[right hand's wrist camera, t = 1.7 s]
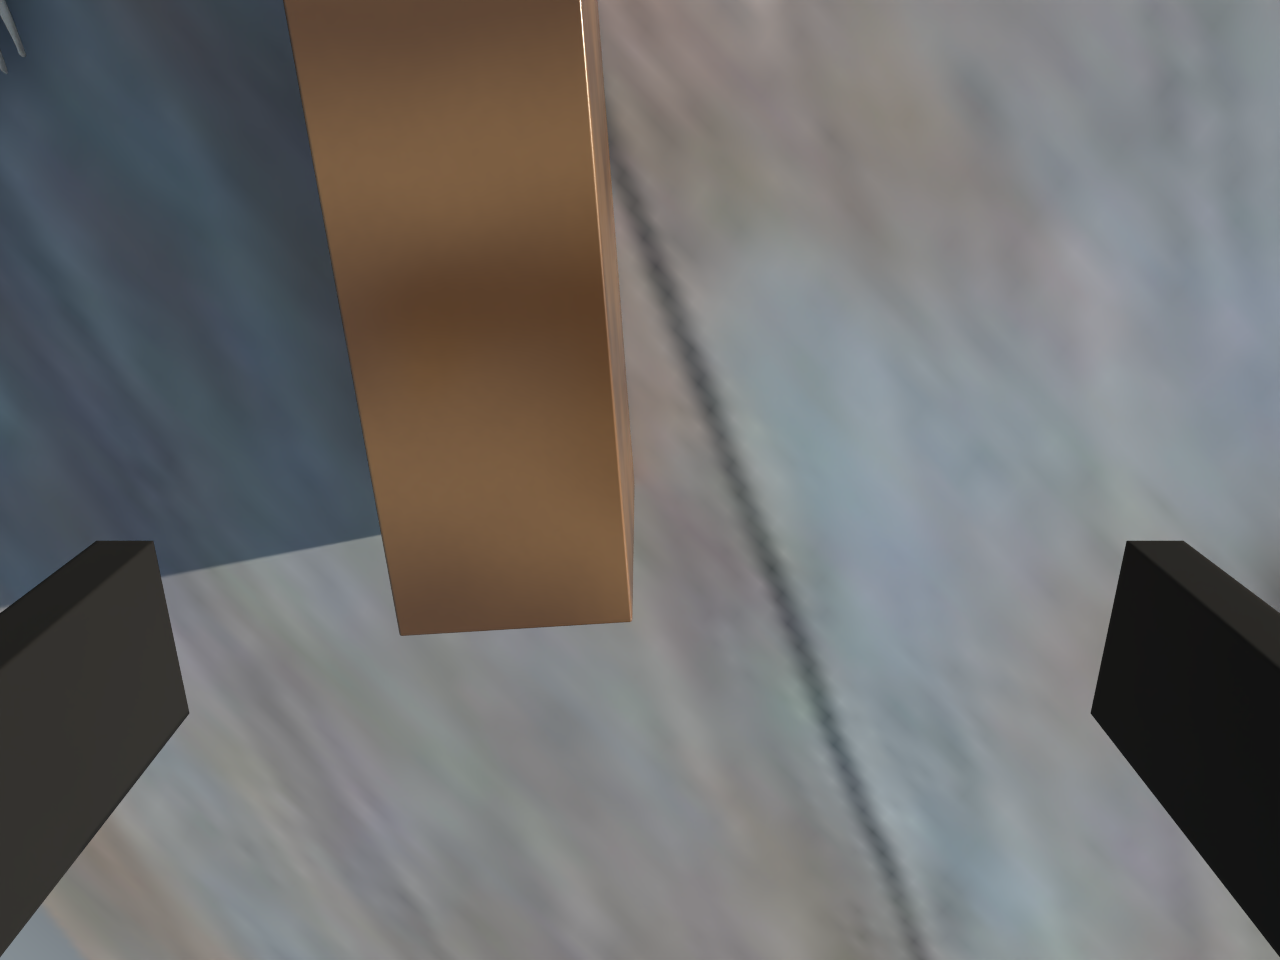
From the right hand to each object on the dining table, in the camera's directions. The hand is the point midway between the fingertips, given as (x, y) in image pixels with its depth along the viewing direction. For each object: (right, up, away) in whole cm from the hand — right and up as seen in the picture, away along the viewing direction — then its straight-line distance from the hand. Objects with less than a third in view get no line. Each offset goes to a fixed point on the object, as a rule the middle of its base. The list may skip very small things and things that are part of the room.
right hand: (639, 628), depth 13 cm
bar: (-4, +13, +14) cm, 19 cm away
